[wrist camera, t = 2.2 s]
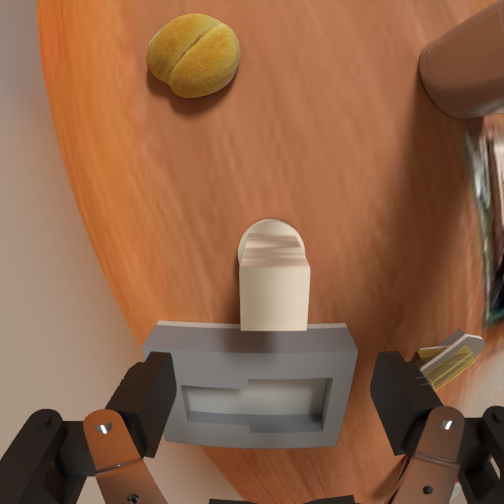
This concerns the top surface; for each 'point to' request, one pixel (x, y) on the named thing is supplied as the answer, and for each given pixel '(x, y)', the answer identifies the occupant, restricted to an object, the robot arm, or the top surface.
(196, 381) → the keyhole plate
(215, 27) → the bread roll
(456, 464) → the robot arm
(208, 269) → the top surface
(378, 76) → the top surface
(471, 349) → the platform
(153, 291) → the top surface
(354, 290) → the top surface
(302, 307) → the maple peg
